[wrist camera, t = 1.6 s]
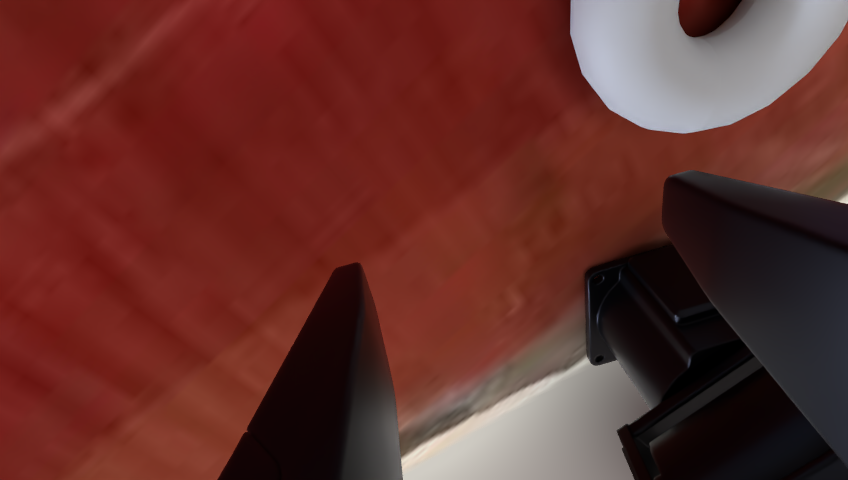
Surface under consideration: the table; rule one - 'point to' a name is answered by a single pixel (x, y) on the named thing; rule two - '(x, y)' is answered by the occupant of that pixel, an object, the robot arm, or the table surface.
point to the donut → (699, 58)
